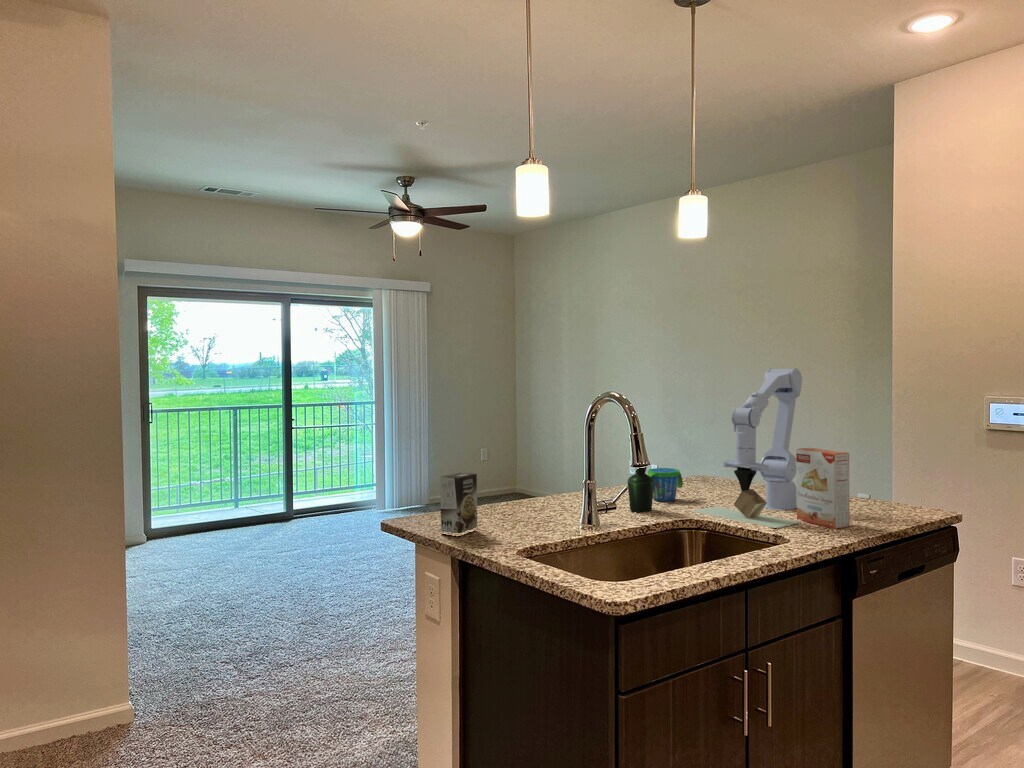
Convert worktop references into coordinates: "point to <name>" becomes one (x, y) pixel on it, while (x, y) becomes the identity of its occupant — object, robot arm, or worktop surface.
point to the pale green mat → (739, 516)
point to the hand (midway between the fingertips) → (745, 493)
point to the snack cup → (665, 483)
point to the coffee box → (458, 502)
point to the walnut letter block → (750, 503)
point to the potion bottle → (640, 491)
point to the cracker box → (823, 487)
